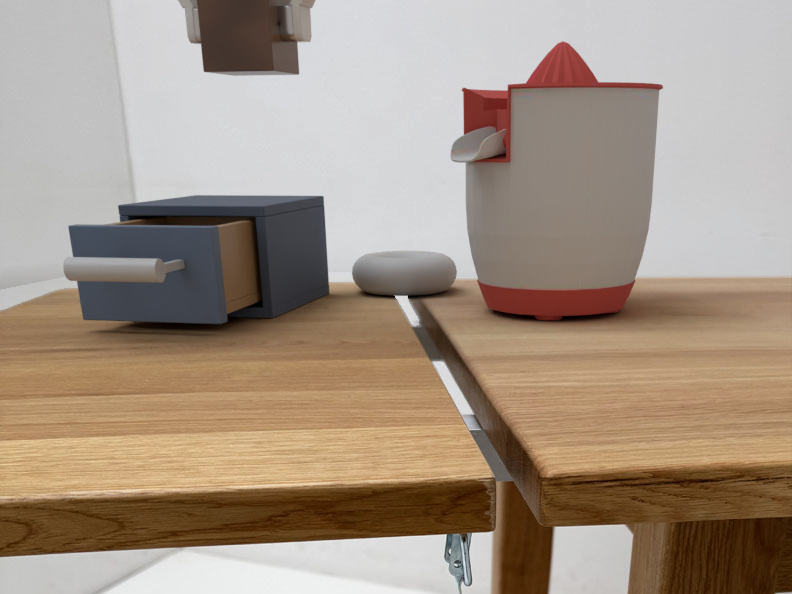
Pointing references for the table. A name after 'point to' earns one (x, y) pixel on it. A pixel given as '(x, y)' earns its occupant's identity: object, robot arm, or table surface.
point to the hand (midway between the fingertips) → (250, 42)
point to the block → (244, 38)
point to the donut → (404, 273)
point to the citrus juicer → (558, 188)
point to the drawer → (166, 268)
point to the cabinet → (265, 242)
